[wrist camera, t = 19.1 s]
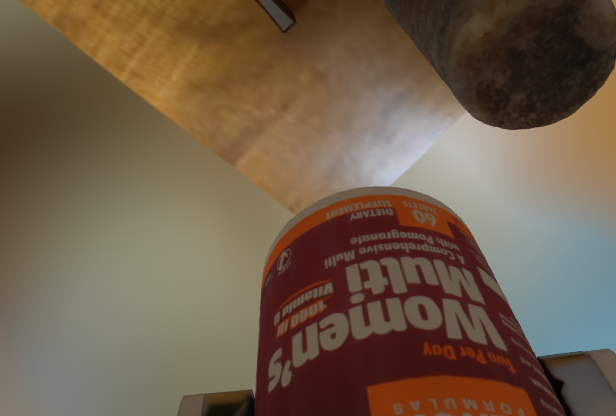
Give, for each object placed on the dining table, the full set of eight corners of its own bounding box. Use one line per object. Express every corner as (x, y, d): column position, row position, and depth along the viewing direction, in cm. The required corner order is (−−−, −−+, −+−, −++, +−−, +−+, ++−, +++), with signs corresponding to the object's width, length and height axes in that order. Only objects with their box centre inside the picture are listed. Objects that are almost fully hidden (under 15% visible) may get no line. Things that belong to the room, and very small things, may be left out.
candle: (452, 37, 40) (572, 148, 24) (366, 18, 39) (429, 121, 23) (490, -68, 36) (667, -22, 20) (395, -92, 35) (497, -65, 19)
